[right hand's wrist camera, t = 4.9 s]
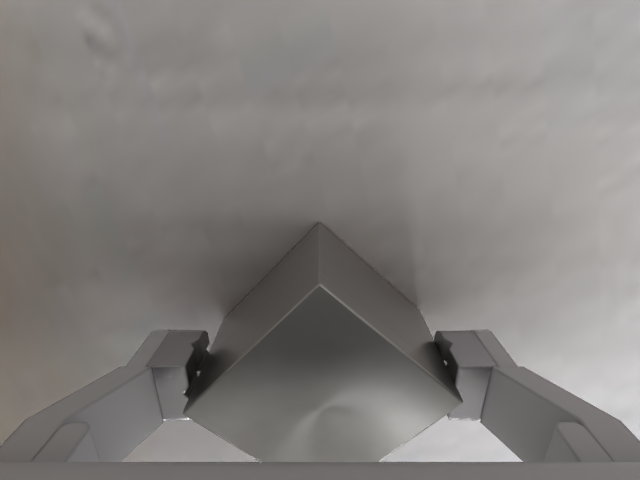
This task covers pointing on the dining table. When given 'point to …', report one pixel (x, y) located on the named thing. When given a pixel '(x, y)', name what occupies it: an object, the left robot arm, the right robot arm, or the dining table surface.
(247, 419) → the block
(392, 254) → the dining table surface
